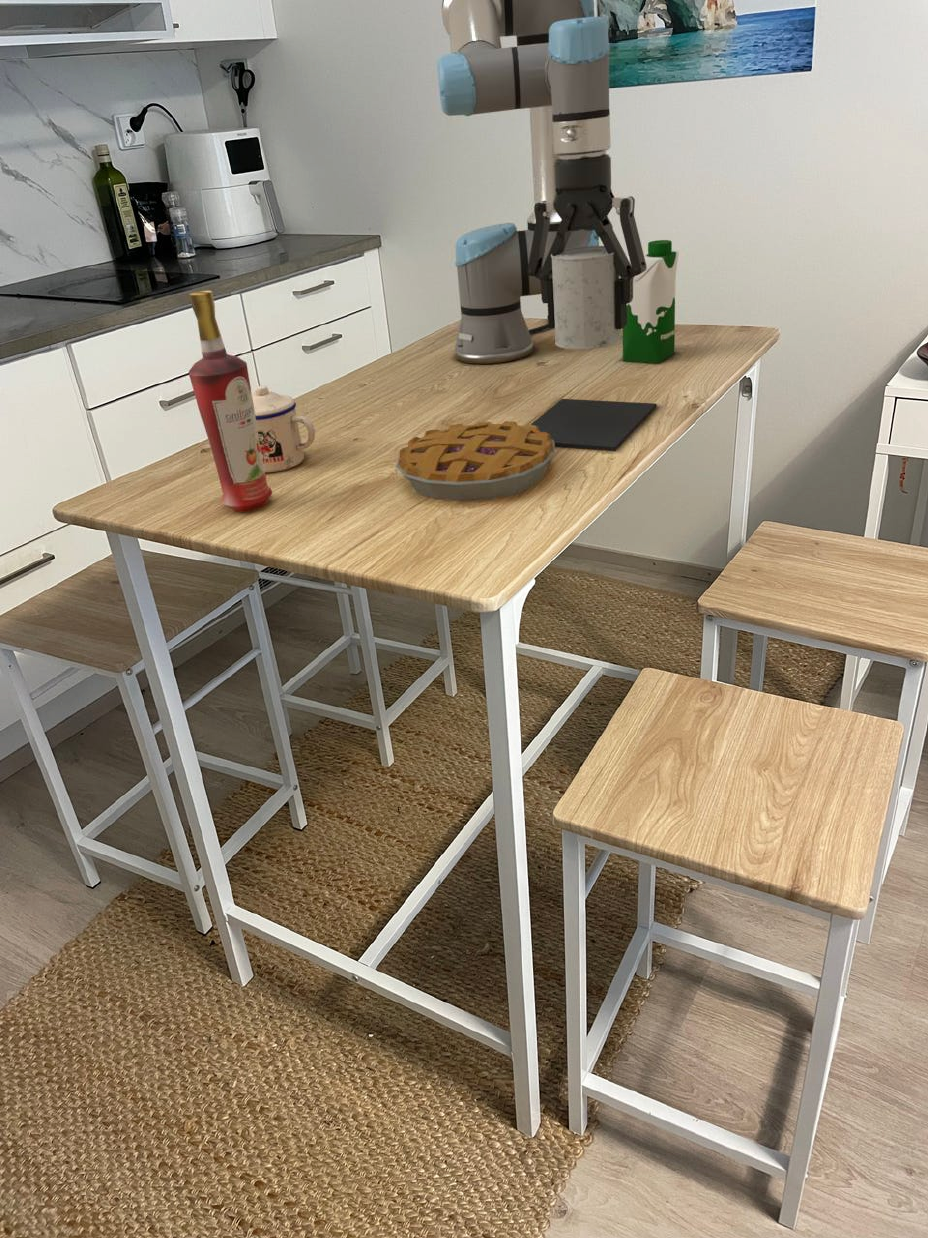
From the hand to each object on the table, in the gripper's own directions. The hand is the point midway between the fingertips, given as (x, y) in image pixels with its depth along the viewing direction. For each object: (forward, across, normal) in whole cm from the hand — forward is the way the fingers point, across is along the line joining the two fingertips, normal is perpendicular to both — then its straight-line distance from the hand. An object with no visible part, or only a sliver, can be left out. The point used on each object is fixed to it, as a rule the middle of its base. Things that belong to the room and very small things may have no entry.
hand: (587, 326), depth 136 cm
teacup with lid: (+15, -40, -25) cm, 49 cm away
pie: (+15, -8, -23) cm, 28 cm away
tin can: (+2, 0, 0) cm, 2 cm away
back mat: (+15, -1, 0) cm, 15 cm away
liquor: (+15, -35, -40) cm, 55 cm away
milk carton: (+15, -3, +38) cm, 41 cm away
